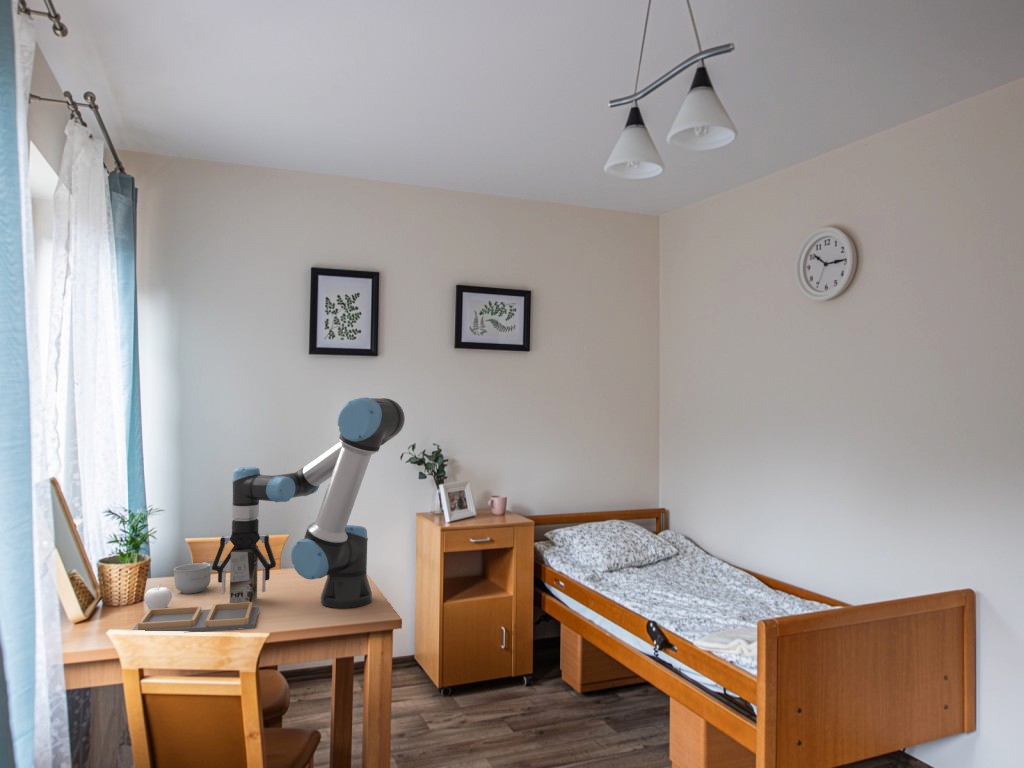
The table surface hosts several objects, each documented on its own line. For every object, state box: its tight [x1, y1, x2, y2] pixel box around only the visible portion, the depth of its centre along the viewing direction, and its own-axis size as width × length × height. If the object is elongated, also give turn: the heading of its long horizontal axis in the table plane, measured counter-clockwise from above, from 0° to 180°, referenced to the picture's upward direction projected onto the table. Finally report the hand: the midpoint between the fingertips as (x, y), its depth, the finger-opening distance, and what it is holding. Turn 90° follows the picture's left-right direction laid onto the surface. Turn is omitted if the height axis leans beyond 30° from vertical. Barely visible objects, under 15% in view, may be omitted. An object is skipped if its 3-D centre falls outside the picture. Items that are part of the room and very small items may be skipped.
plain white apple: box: [144, 581, 173, 610], centre depth 210 cm, size 7×7×8 cm
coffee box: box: [228, 545, 259, 603], centre depth 219 cm, size 9×6×16 cm
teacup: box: [173, 561, 212, 594], centre depth 232 cm, size 14×11×8 cm
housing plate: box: [132, 602, 260, 632], centre depth 199 cm, size 30×17×2 cm, turn 105°
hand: (243, 592), depth 219 cm, fingers open, 11 cm apart
